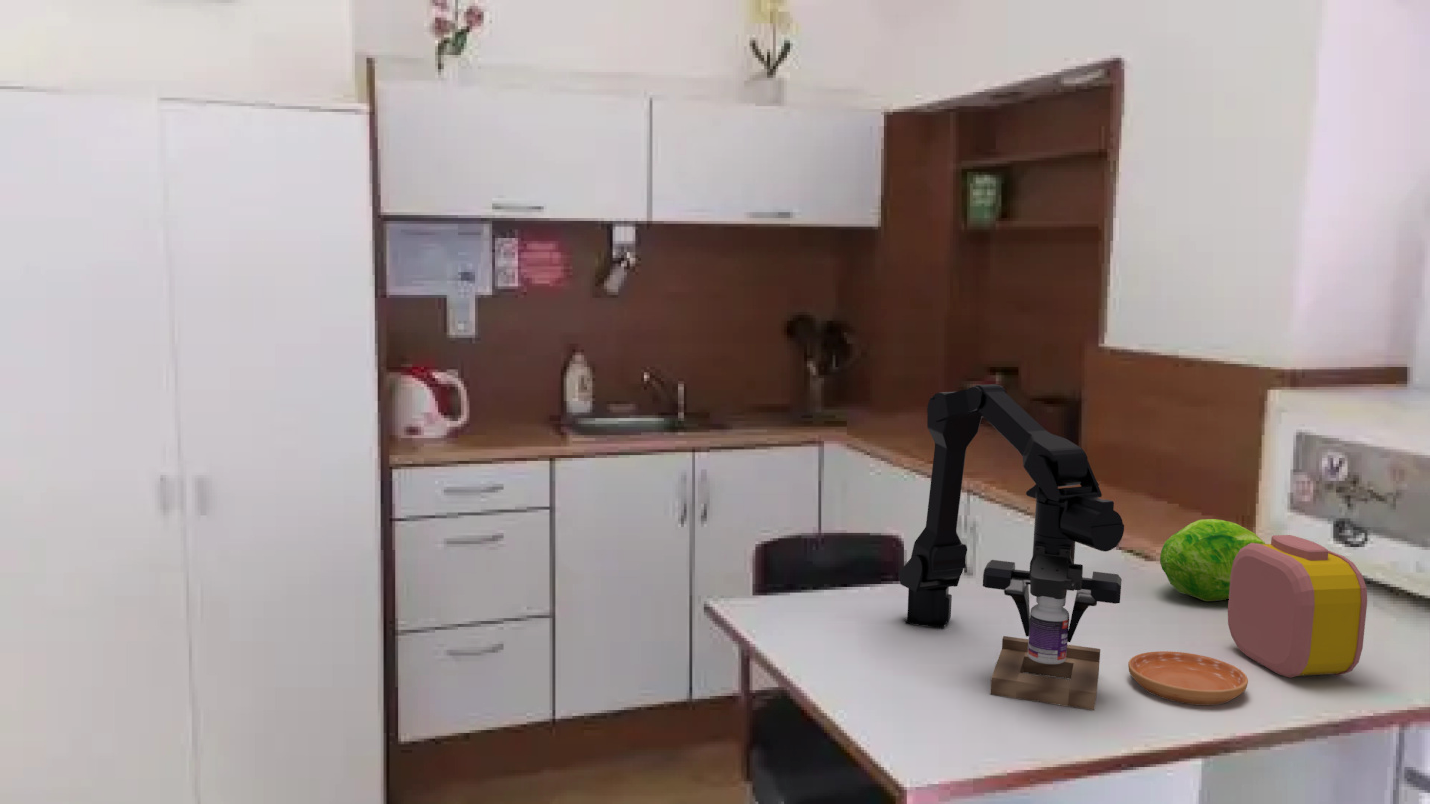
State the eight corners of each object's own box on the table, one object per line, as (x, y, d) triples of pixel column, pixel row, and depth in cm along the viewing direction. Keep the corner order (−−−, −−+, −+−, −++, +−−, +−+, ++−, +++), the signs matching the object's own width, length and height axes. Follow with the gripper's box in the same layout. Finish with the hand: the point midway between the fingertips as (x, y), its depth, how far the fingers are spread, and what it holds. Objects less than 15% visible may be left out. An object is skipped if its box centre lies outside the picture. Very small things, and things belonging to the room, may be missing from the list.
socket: (990, 694, 159) (991, 667, 159) (1002, 661, 172) (1003, 636, 172) (1094, 710, 155) (1096, 682, 154) (1098, 674, 167) (1100, 649, 167)
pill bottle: (1067, 667, 160) (1072, 601, 158) (1028, 663, 161) (1033, 597, 159) (1064, 653, 165) (1068, 589, 164) (1026, 650, 166) (1030, 586, 165)
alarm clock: (1364, 686, 165) (1377, 558, 162) (1296, 690, 163) (1308, 560, 160) (1281, 642, 183) (1291, 526, 180) (1219, 645, 181) (1229, 527, 178)
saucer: (1112, 667, 171) (1113, 648, 171) (1218, 670, 171) (1220, 651, 171) (1149, 710, 156) (1151, 689, 155) (1266, 713, 155) (1268, 692, 155)
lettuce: (1213, 571, 220) (1285, 604, 206) (1131, 586, 209) (1202, 622, 196) (1228, 500, 216) (1302, 530, 203) (1145, 512, 205) (1218, 543, 192)
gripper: (980, 539, 156) (974, 647, 158) (1123, 555, 150) (1115, 667, 152) (990, 521, 166) (985, 623, 169) (1124, 535, 160) (1117, 641, 162)
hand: (1048, 638), depth 163 cm, fingers closed on pill bottle, 5 cm apart
